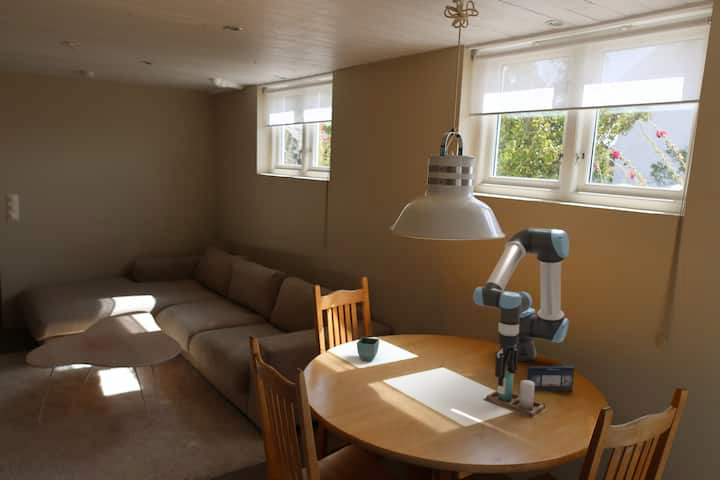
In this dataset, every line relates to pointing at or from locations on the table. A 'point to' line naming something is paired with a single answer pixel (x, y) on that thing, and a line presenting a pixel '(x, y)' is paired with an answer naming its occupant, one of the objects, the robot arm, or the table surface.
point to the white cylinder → (526, 394)
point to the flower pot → (367, 348)
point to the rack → (516, 405)
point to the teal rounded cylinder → (507, 388)
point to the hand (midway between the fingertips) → (505, 390)
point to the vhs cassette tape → (551, 377)
